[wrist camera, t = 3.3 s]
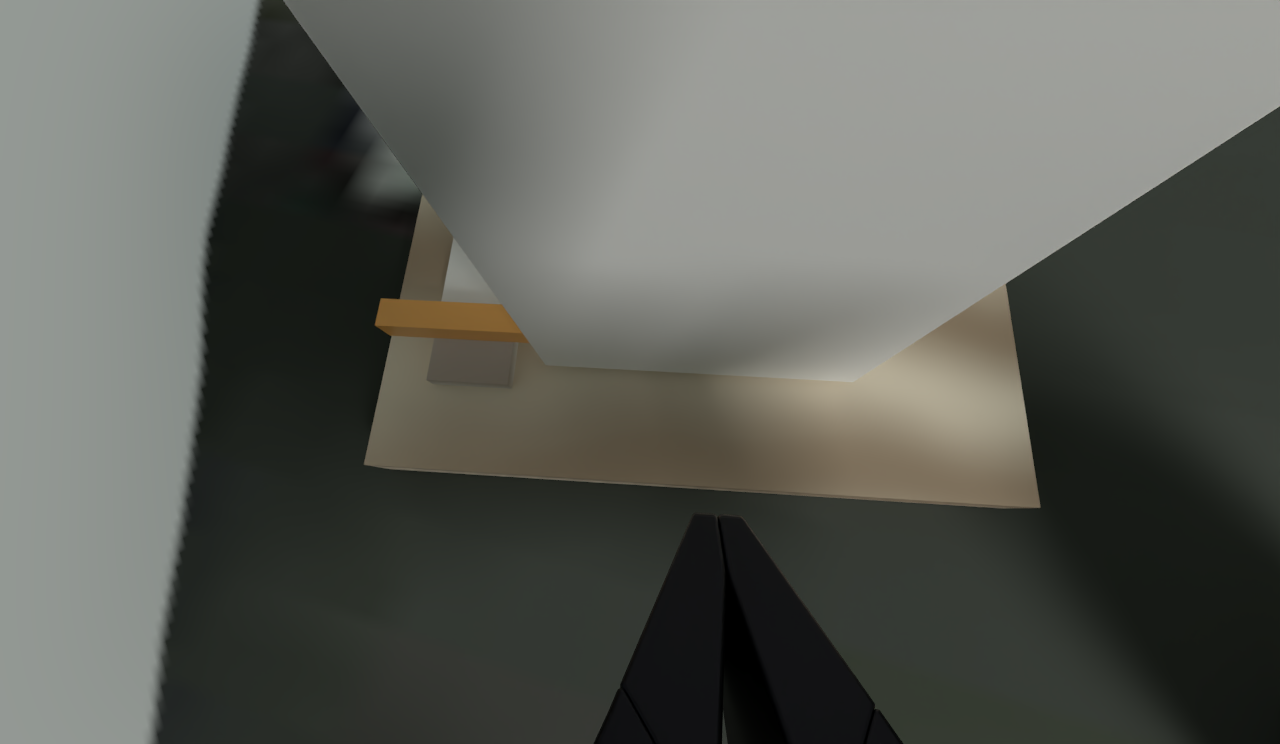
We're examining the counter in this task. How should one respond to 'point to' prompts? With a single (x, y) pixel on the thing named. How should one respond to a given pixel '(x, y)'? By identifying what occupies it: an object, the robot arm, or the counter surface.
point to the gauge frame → (707, 412)
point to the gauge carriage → (777, 158)
